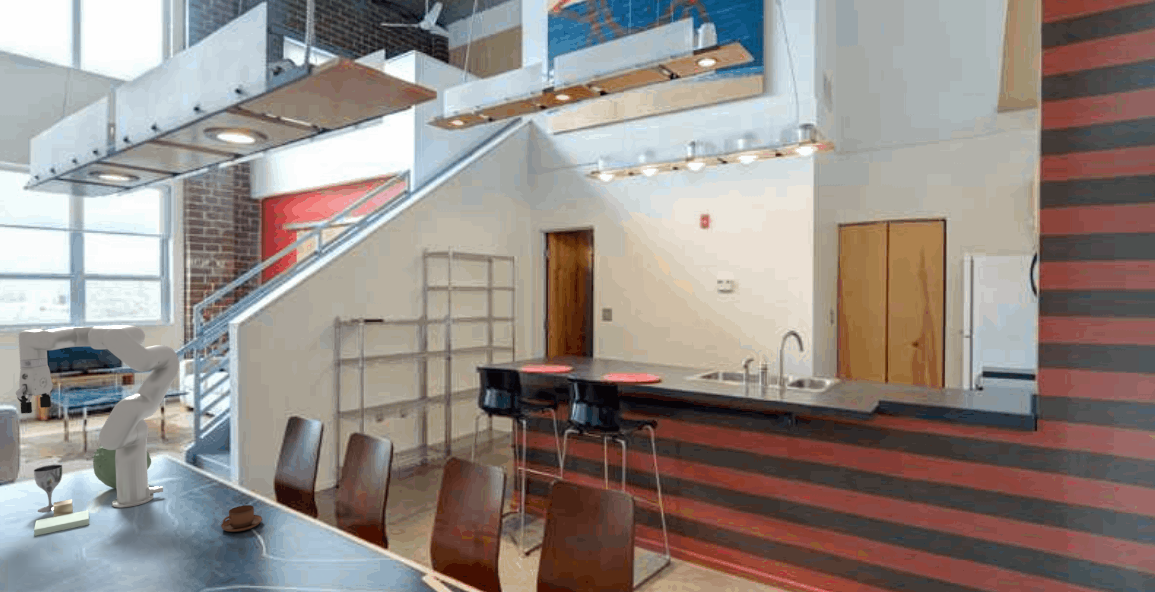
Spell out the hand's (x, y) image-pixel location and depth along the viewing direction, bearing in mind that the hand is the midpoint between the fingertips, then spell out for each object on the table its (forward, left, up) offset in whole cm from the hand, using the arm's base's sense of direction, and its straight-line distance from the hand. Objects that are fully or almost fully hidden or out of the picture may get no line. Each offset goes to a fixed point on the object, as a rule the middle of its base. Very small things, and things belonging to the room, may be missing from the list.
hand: (36, 410), depth 227 cm
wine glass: (-3, +5, -36) cm, 36 cm away
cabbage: (-25, -5, -36) cm, 44 cm away
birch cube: (-7, +18, -36) cm, 41 cm away
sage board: (-7, +28, -36) cm, 46 cm away
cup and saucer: (-54, +70, -36) cm, 96 cm away
